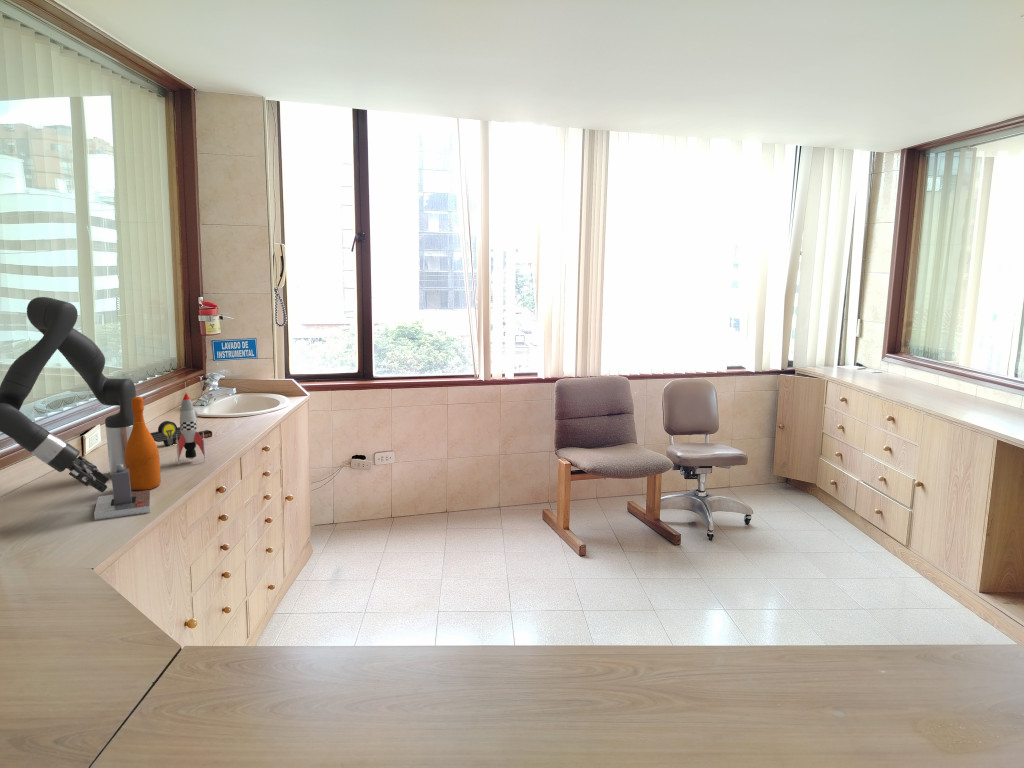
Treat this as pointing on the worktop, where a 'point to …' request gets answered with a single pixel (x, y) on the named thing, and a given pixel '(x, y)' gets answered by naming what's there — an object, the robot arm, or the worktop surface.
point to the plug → (121, 486)
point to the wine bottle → (142, 452)
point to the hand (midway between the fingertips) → (106, 485)
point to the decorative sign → (172, 433)
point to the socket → (122, 506)
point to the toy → (189, 430)
